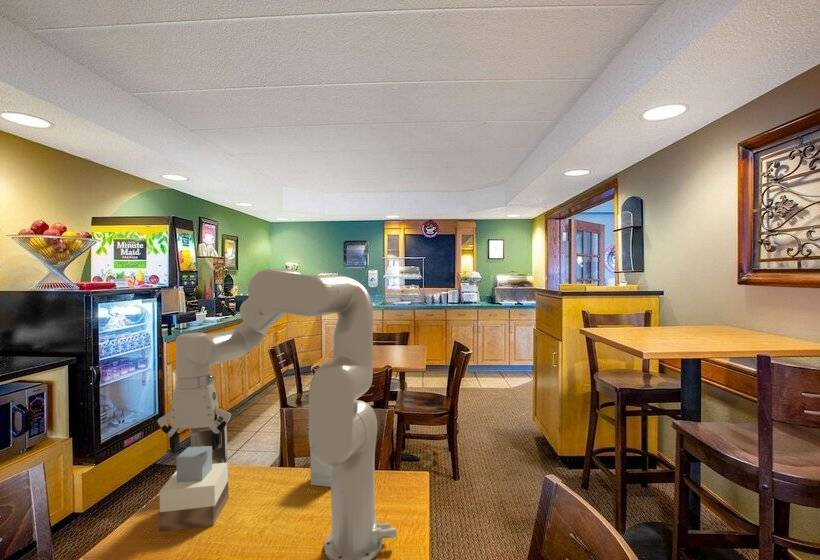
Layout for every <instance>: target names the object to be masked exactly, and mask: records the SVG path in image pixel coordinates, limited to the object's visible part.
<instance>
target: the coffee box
mask: <svg viewBox="0 0 820 560" xmlns="http://www.w3.org/2000/svg"><path fill="white" fill-rule="evenodd" d="M219 423H220V424H221V423H222V421H221V422H219ZM227 425H228V423H227V424H226V425H225V427H224V428H223V429H222V430H221V444H220V445H219V446H218V447H217V448H216V450H213V449H212V464H217V463H228V464H229V459H228V457H229V455H228V454H229V453H228V450H229V449H228V426H227ZM213 433H214V432H213V431H212V430H211V429H210V428H209V427H203V428H191V432H190V447H203V446H212V434H213ZM228 476H229V472H228Z"/></svg>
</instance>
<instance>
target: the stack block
mask: <svg viewBox="0 0 820 560" xmlns="http://www.w3.org/2000/svg"><path fill="white" fill-rule="evenodd" d="M176 470H177V482H187V481H202V480H203V479H204V478H205V477H206V476H207V474H208V473H209V472H210V471H211V470H212V446H203V447H191V446H188V447H187V448H185V449H184V450H183V451H182V452H181V453H180V454H178V456H177V457H176Z"/></svg>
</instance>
